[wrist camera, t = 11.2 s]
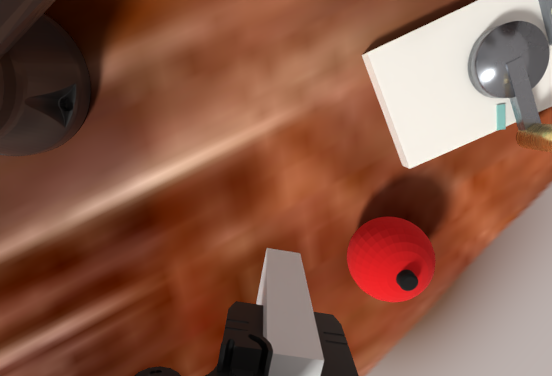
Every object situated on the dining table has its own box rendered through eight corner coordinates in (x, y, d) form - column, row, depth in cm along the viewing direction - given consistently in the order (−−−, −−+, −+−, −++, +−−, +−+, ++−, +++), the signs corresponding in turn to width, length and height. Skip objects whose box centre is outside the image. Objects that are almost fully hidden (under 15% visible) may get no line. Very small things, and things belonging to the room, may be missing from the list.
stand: (361, 55, 36) (372, 49, 33) (544, -31, 35) (578, -48, 31) (403, 166, 39) (417, 173, 36) (573, 91, 38) (606, 90, 34)
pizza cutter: (458, 44, 34) (533, 20, 24) (526, 11, 33) (629, -26, 24) (494, 159, 37) (574, 179, 27) (558, 132, 36) (661, 141, 27)
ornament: (427, 246, 42) (476, 289, 32) (368, 289, 43) (397, 343, 33) (385, 191, 40) (423, 218, 30) (324, 237, 41) (342, 279, 31)
